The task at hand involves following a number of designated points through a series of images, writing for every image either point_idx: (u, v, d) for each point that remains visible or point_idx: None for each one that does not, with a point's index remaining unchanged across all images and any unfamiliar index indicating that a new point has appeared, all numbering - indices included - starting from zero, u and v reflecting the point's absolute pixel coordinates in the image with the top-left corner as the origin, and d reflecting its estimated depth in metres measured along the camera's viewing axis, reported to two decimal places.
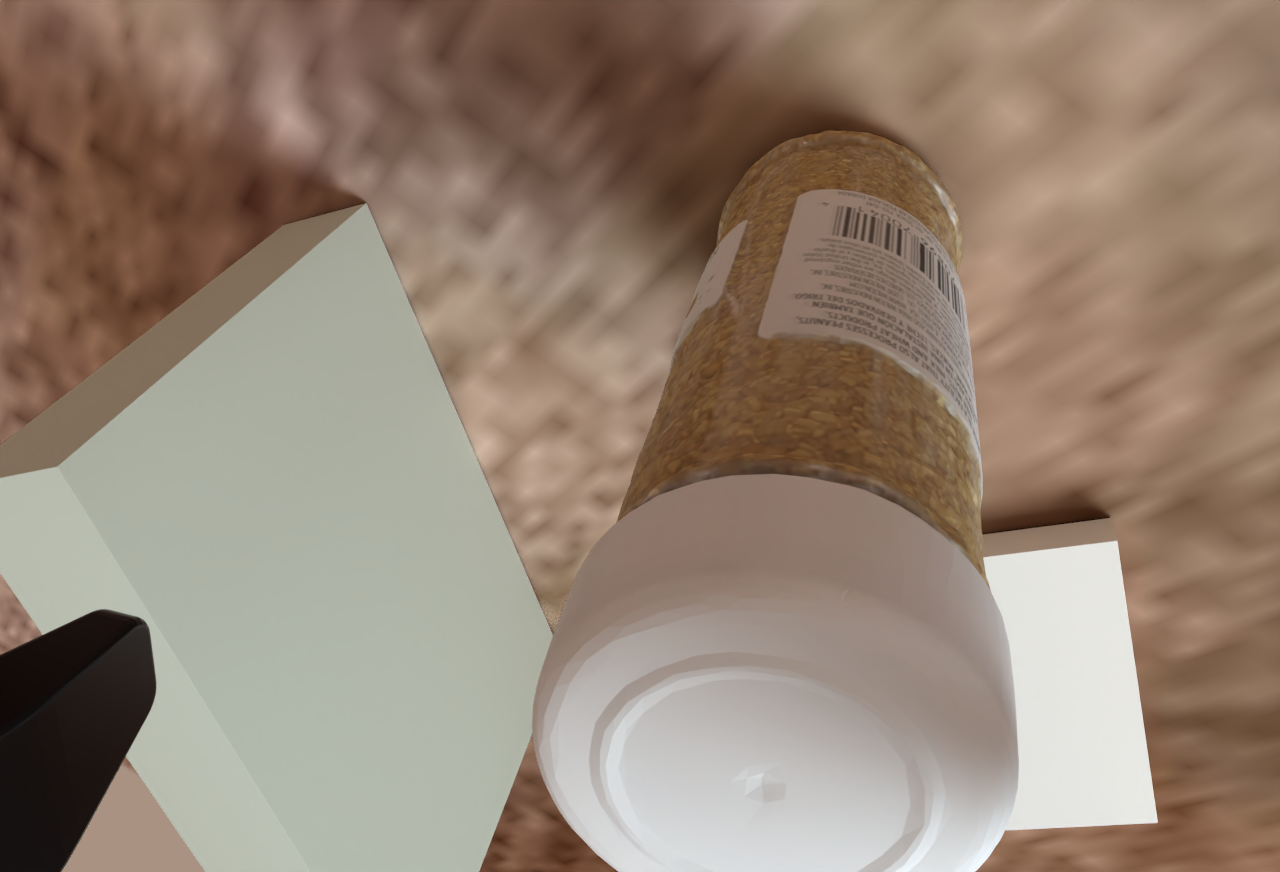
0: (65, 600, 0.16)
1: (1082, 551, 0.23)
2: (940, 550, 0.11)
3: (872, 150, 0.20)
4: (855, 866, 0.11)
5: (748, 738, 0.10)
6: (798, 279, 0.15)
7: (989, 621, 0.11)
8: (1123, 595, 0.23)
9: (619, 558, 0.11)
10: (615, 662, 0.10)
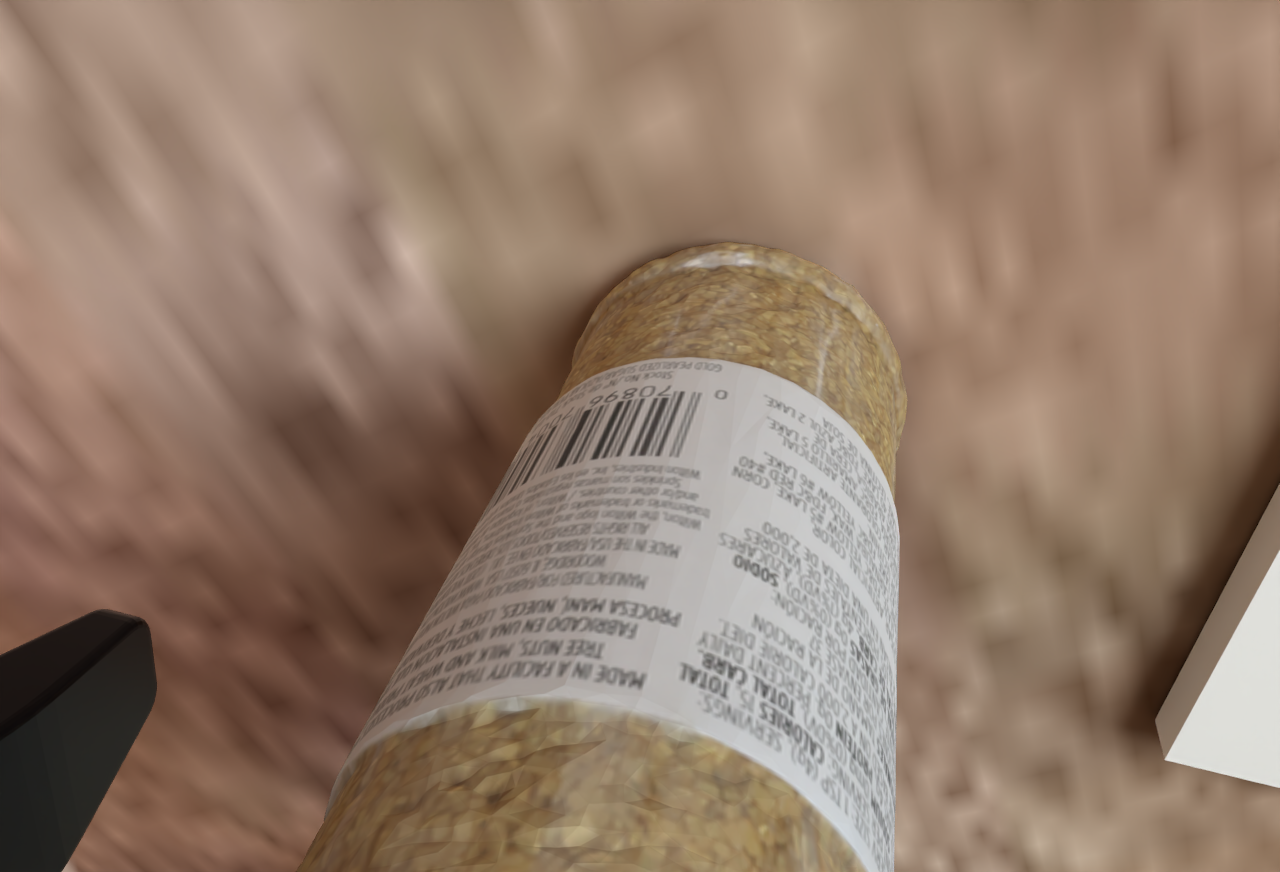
0: None
1: None
2: None
3: (600, 320, 0.15)
4: None
5: None
6: None
7: None
8: None
9: None
10: None
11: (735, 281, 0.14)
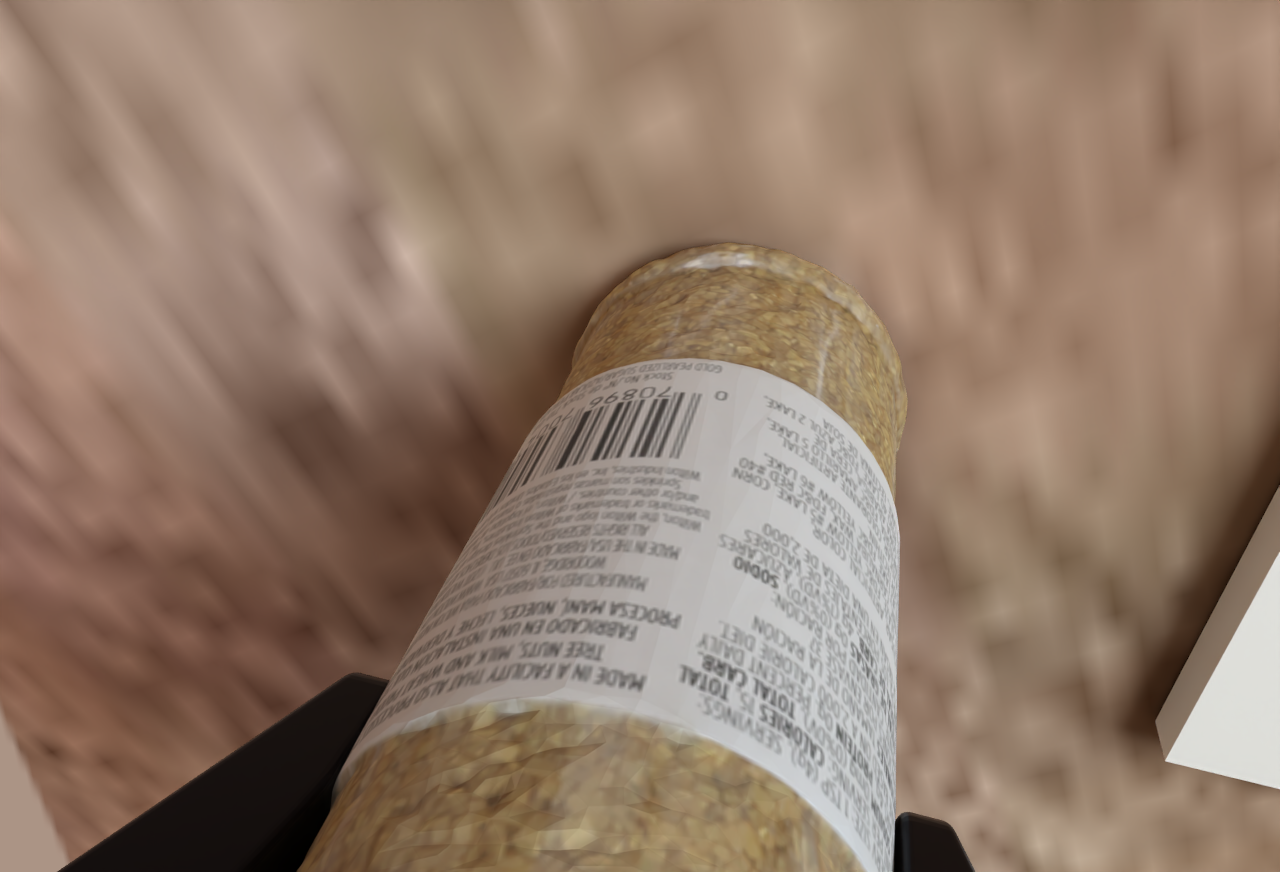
0: None
1: None
2: None
3: (600, 321, 0.15)
4: None
5: None
6: None
7: None
8: None
9: None
10: None
11: (735, 282, 0.14)
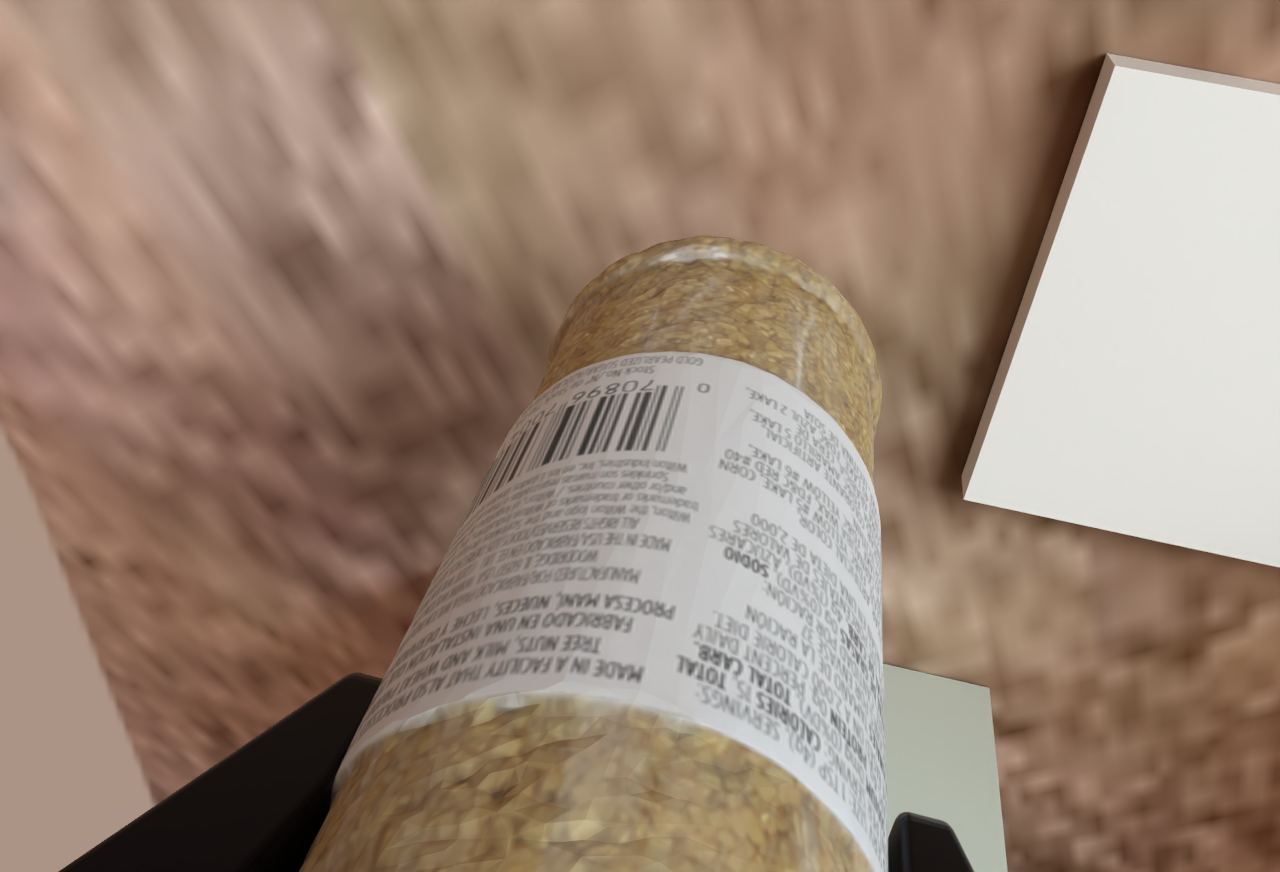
0: None
1: (1110, 111, 0.18)
2: None
3: (576, 316, 0.15)
4: None
5: None
6: None
7: None
8: (1209, 84, 0.17)
9: None
10: None
11: (711, 275, 0.14)
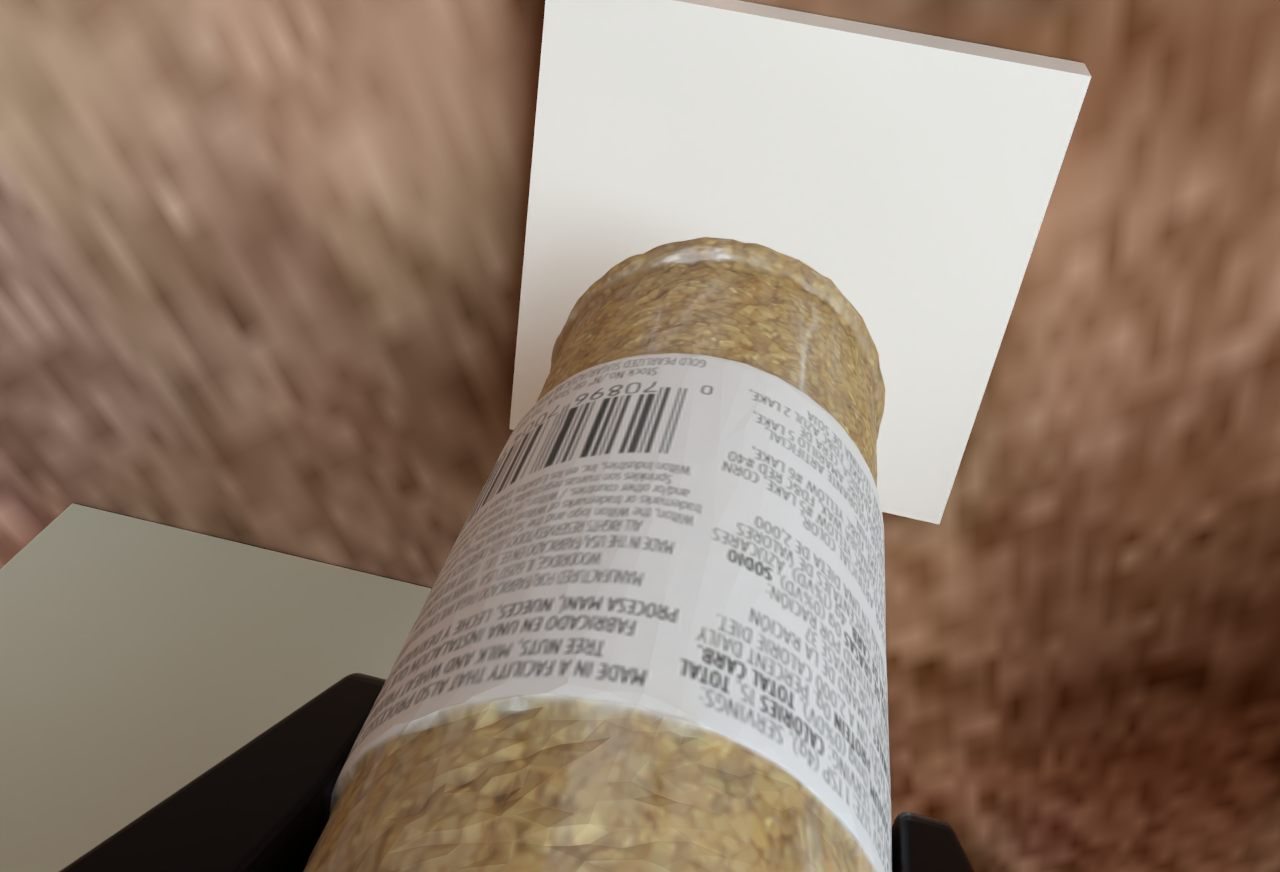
0: None
1: (554, 25, 0.18)
2: None
3: (579, 317, 0.15)
4: None
5: None
6: None
7: None
8: None
9: None
10: None
11: (714, 276, 0.14)
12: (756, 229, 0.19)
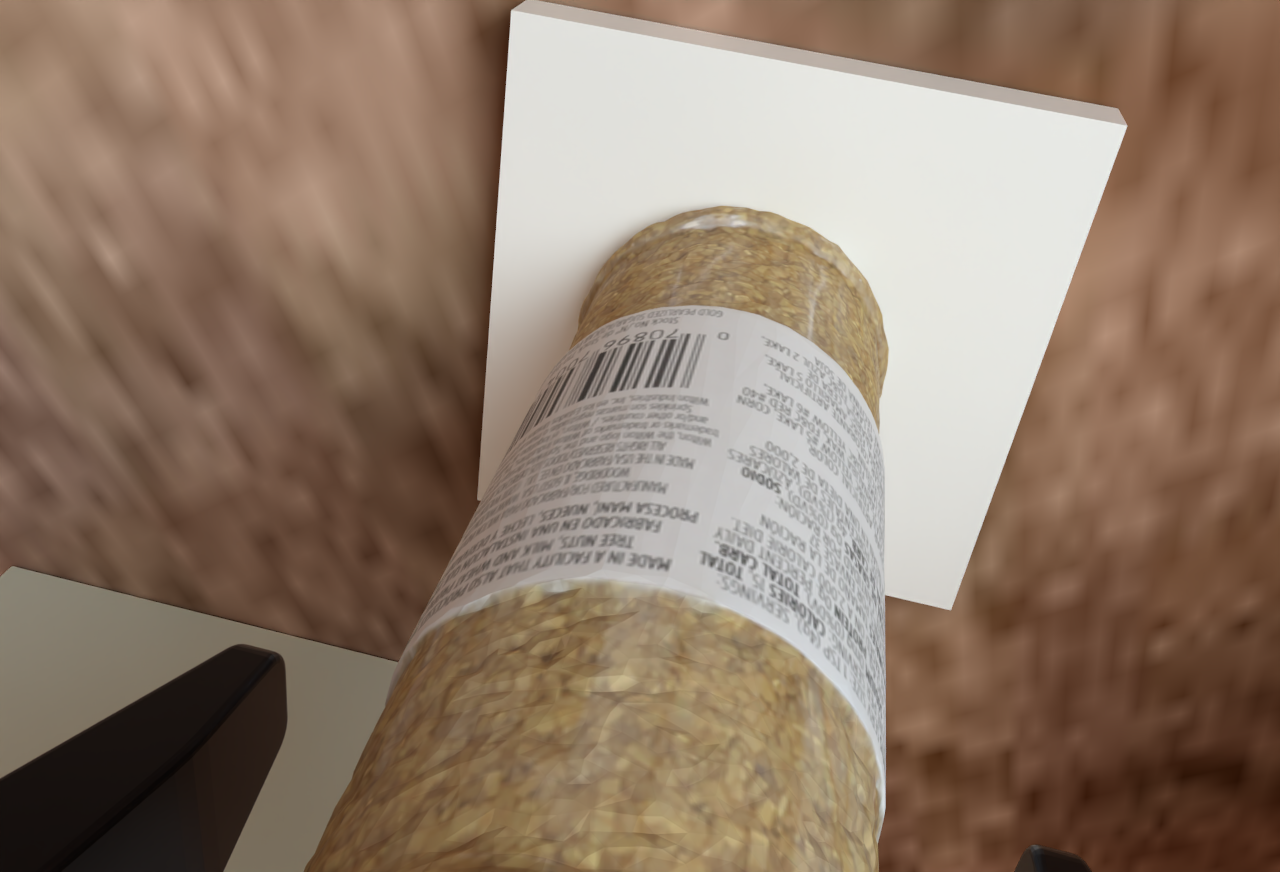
0: None
1: (519, 63, 0.16)
2: None
3: (605, 280, 0.16)
4: None
5: None
6: None
7: None
8: (613, 31, 0.15)
9: None
10: None
11: (730, 240, 0.15)
12: None
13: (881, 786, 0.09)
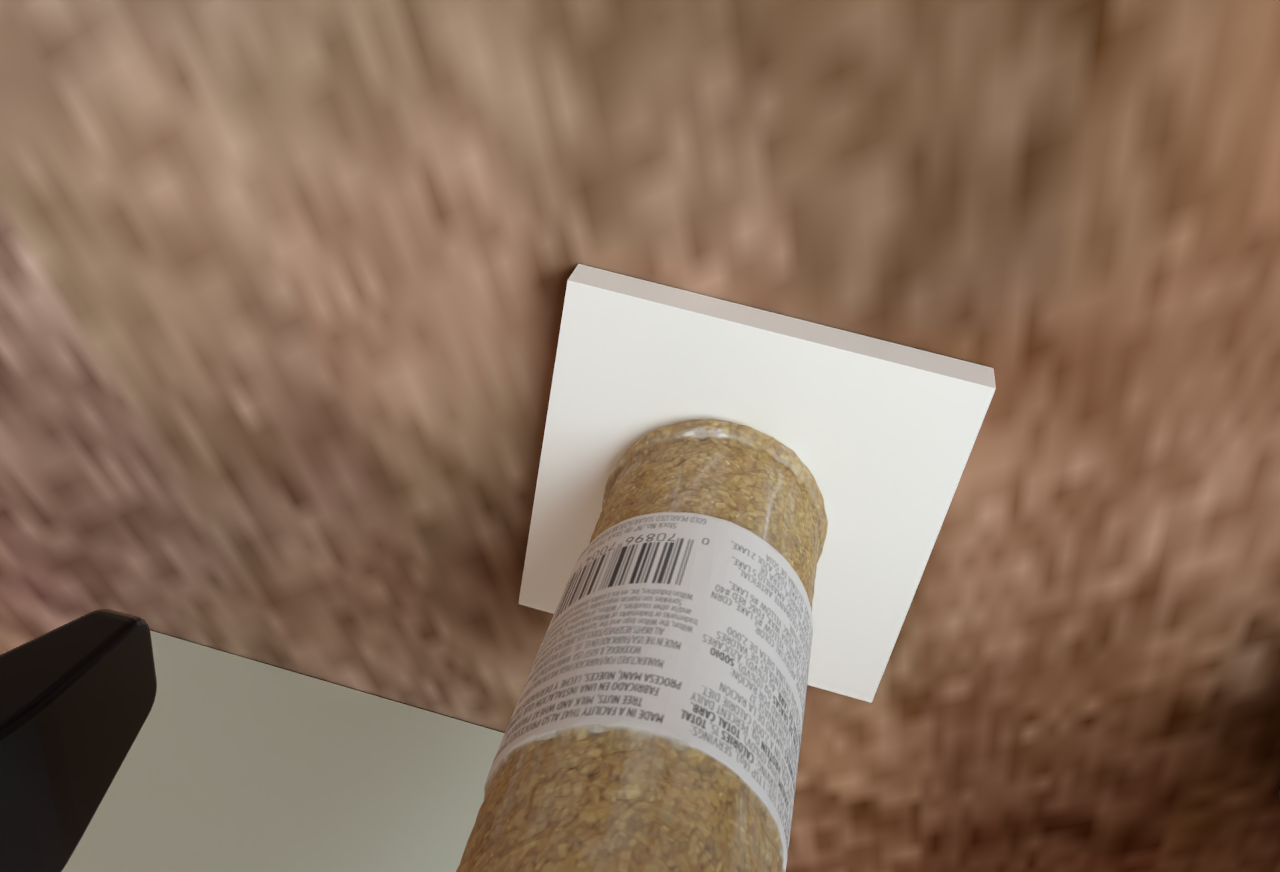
0: None
1: (571, 314, 0.22)
2: None
3: (626, 467, 0.22)
4: None
5: None
6: (516, 706, 0.17)
7: None
8: (640, 299, 0.21)
9: None
10: None
11: (716, 450, 0.21)
12: None
13: (783, 853, 0.16)
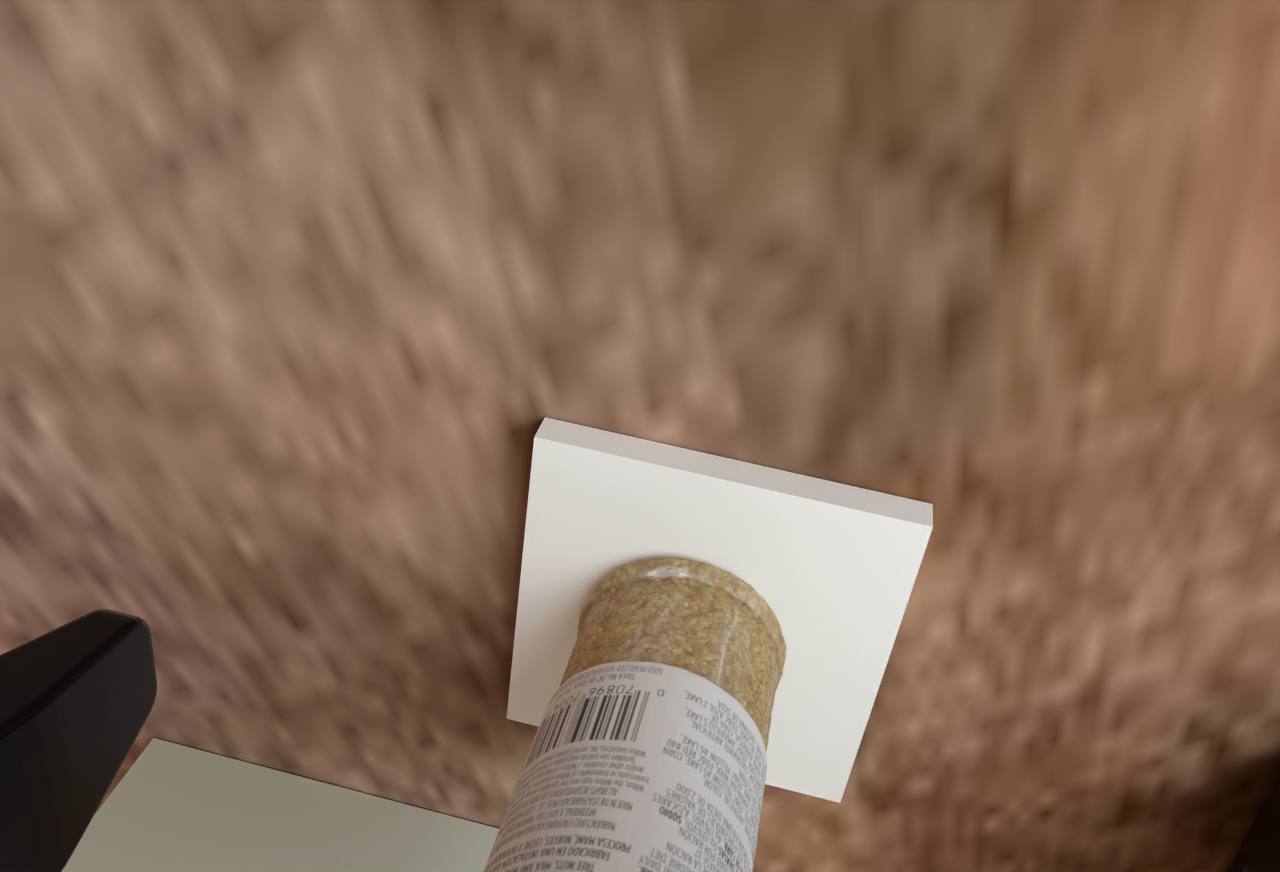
0: None
1: (539, 465, 0.23)
2: None
3: (595, 603, 0.24)
4: None
5: None
6: (489, 856, 0.19)
7: None
8: (601, 452, 0.23)
9: None
10: None
11: (676, 591, 0.23)
12: None
13: None
